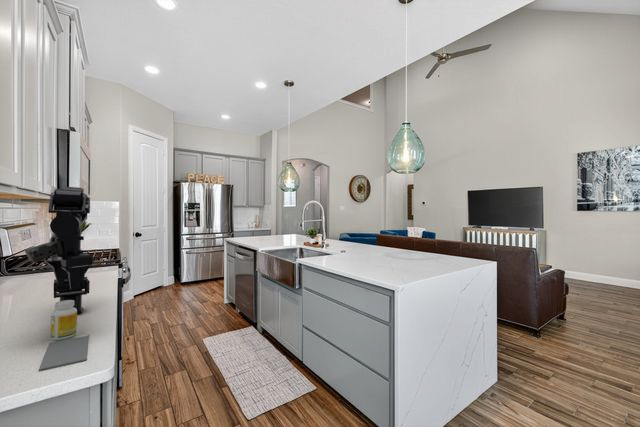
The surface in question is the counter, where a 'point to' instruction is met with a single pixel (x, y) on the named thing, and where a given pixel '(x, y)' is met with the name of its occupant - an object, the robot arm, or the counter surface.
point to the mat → (65, 353)
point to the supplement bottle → (63, 320)
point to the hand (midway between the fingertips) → (66, 286)
